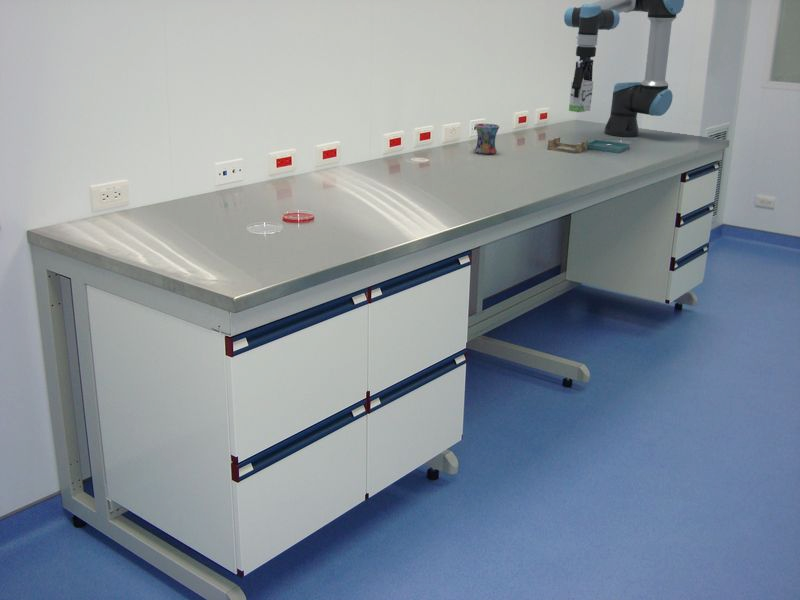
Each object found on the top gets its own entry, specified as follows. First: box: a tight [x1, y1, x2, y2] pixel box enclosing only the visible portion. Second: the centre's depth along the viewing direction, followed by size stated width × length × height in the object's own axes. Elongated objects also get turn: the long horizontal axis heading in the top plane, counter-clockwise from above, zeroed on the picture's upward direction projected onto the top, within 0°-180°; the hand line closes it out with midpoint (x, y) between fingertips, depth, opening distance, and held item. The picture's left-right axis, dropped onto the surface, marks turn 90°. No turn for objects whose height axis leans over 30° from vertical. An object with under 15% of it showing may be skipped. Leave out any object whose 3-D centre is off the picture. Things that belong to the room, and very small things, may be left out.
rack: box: [547, 136, 589, 154], centre depth 341 cm, size 13×13×4 cm
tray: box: [586, 139, 631, 154], centre depth 348 cm, size 14×15×2 cm
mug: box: [474, 123, 500, 155], centre depth 326 cm, size 12×9×11 cm
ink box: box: [568, 80, 594, 113], centre depth 336 cm, size 9×5×12 cm, turn 135°
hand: (580, 104), depth 337 cm, fingers closed on ink box, 9 cm apart
